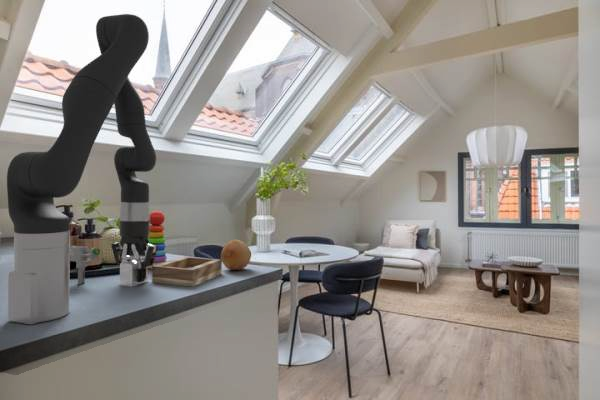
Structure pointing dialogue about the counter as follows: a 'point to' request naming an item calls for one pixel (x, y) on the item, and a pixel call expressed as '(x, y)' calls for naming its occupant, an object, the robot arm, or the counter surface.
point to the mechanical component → (83, 259)
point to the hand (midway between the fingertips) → (134, 280)
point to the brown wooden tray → (186, 271)
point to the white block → (130, 274)
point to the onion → (236, 255)
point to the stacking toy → (157, 237)
